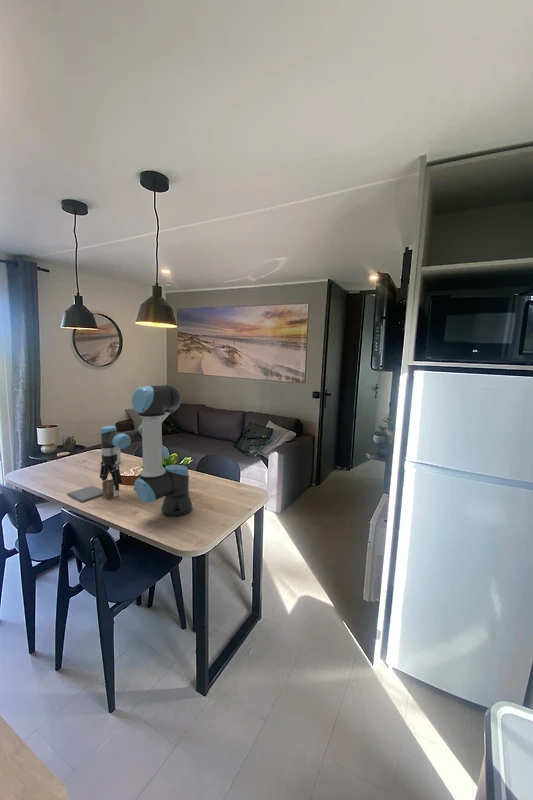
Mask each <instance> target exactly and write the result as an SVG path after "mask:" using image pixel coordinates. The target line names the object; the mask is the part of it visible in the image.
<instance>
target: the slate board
mask: <svg viewBox="0 0 533 800" xmlns="http://www.w3.org/2000/svg"><path fill="white" fill-rule="evenodd" d="M66 496H67V497H70V498H72V499H73V500H75V501H77V502H79V503H81V504H84V503H87V502H89V501H92V500H95V499H97V498H101V497H103V488H98V487H97V486H94V485H90V486H89V485H88V486H87V487H83V488H80V489H77V490H76V489H75V490H74V491H70V492H67V493H66Z"/></svg>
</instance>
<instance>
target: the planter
mask: <svg viewBox="0 0 533 800" xmlns="http://www.w3.org/2000/svg"><path fill="white" fill-rule="evenodd" d="M100 453H101V455H102V449H101V451H100ZM116 454H117V461H116V462H115V464H116V466H118V465H119V464H120V462H121V448H117V453H116Z"/></svg>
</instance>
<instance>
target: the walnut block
mask: <svg viewBox="0 0 533 800" xmlns="http://www.w3.org/2000/svg"><path fill="white" fill-rule="evenodd" d="M101 484H102V485H101V487H102V488H101V489H102V490H103V496H102V498H103V499H106V500H107V501H111V500H114V499H117V498H119V497H120V494H119V495H118V496H115V497H114V490H113V485H114V482H113V479H112V478H111V479H108V480H107V481H104V482H103V481H102V482H101Z"/></svg>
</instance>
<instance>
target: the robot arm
mask: <svg viewBox="0 0 533 800" xmlns="http://www.w3.org/2000/svg"><path fill="white" fill-rule="evenodd" d="M181 402H182V394H181V392H180V391H179V389H178V388H177V387H175V386H174V385H170V384H163V385H161V384H160V385H159V384H158V385H146V386H145V385H144V386H140V387H137V388H136V389H135V391H134V392H133V395H132V399H131V404H132V407H133V410H134V412H136V413H137V414H138V415H137V416H138V417H139V418H140V419H141V424H140V425H139V427H138V428H137V429H133V430H127V431H121V432H118V431H117V427H116V426H115V425H105V426H102V427H101V429H100V442H101V450H102V454H101V462H100V472H99V478H100V479H101V481H102V482H104V481H107V480H109V478H108V476H109V474H110V475H111V479H113V482H114V485H113V490H114V497H115V496H118V495H119V496H120V485H121V484H122V477H121V472H120V465H116V464H115V462H116V461H117V454H116V453H117V448H120V449H123V450H124V449H126V448H128V447H129V446H131V445H137V444H141V443H142V469H141V470H140V471H139V474H140V479H138V478H137V479H136V480H135V481H134V485H133V486H134V488H135V490H134V491H135V494H136V496H137V498H138V499H139V501H141V502H143V503H151V502H155V501H157V500H158V499H161V498H164V499H163V503H162V505H161V513H162V514H163V515H164V516H166V517H170V518H171V517H172V518H174V517H176V518H177V517H183V516H185V515H187V514H189V513H190V512H192V510H193V503H192V500H191V497H190V494H189V492H190V491H189V489H190V488H189V487H190V485H189V484H190V482H189V481H190V479H189V478H190V475H189V469H188V467H187V466H185V465H180V464H169V465H166V466H164V467H163V439H162V438H163V435H162V434H163V433H162V430H163V428H162V427H163V426H162V424H163V422H164V421H165V419H166V418H168V417H169V415H171V414H173V413H175V412H176V411H177V410H178V408H179V407H180V406H181ZM134 488H133V489H134Z"/></svg>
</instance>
